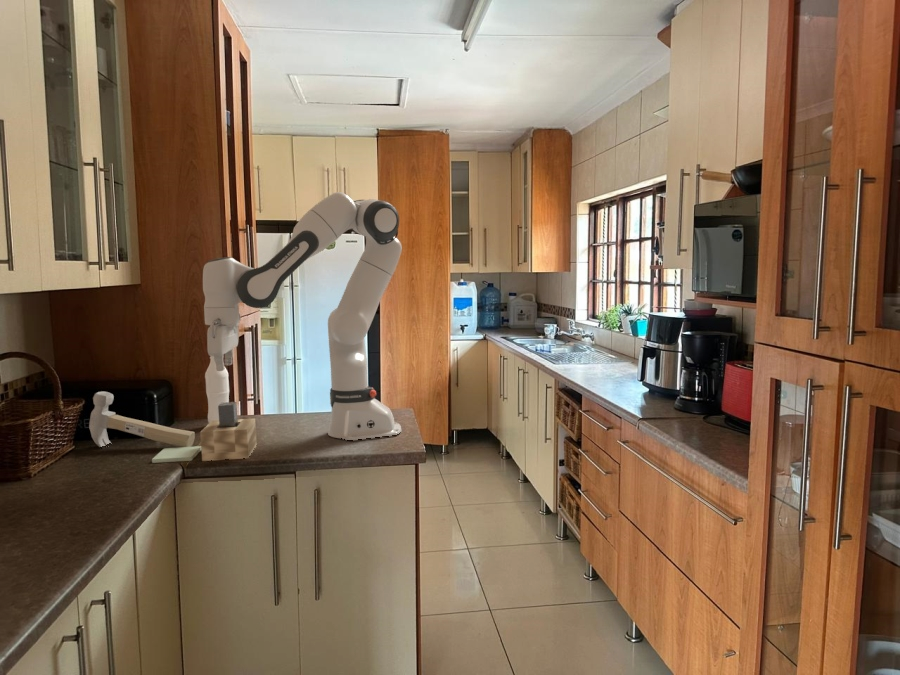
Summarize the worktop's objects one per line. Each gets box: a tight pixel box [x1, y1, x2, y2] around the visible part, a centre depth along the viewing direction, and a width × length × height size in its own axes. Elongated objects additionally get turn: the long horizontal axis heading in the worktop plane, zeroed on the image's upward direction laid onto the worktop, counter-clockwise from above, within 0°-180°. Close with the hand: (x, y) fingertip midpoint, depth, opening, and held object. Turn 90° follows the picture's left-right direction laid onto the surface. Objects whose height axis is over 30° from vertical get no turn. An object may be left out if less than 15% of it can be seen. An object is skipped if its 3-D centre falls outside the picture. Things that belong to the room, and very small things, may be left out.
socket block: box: [199, 418, 257, 462], centre depth 165 cm, size 12×12×8 cm
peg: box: [218, 401, 238, 428], centre depth 165 cm, size 4×4×12 cm
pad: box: [151, 445, 202, 464], centre depth 164 cm, size 10×10×1 cm
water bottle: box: [204, 356, 230, 424], centre depth 193 cm, size 7×7×25 cm
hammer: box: [88, 390, 196, 448], centre depth 172 cm, size 16×5×30 cm
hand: (224, 367), depth 163 cm, fingers open, 8 cm apart
